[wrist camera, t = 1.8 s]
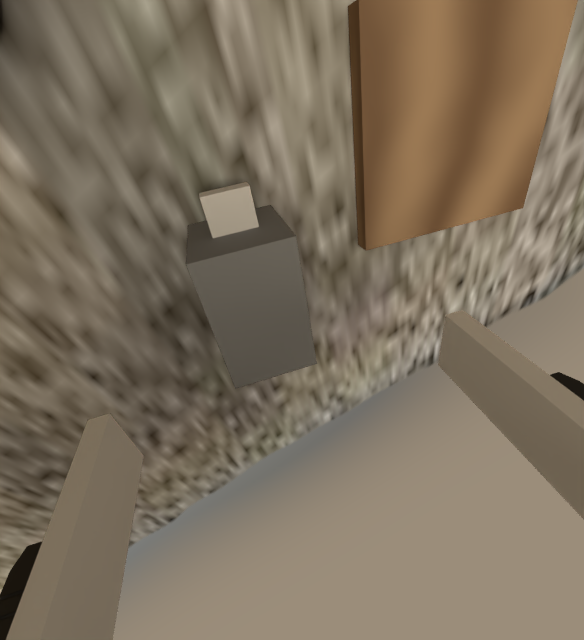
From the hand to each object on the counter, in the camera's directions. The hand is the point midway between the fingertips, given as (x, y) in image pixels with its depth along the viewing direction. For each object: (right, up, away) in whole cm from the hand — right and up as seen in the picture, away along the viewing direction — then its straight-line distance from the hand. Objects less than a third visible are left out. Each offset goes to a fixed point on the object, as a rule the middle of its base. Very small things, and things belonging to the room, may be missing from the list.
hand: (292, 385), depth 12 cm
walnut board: (+9, +14, +7) cm, 18 cm away
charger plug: (-3, +6, +9) cm, 11 cm away
